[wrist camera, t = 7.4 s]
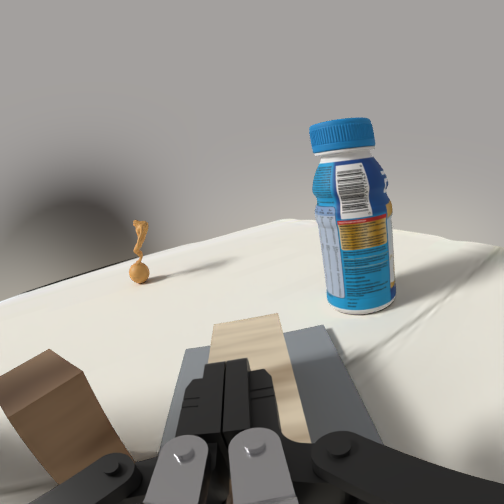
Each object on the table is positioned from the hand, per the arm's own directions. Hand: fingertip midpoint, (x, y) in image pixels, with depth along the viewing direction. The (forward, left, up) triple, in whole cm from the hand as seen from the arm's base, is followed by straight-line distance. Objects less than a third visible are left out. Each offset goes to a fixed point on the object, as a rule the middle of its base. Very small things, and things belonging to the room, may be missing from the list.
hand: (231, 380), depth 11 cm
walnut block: (-8, -8, -10) cm, 15 cm away
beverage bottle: (-11, +24, -10) cm, 28 cm away
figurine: (-50, +12, -10) cm, 52 cm away
